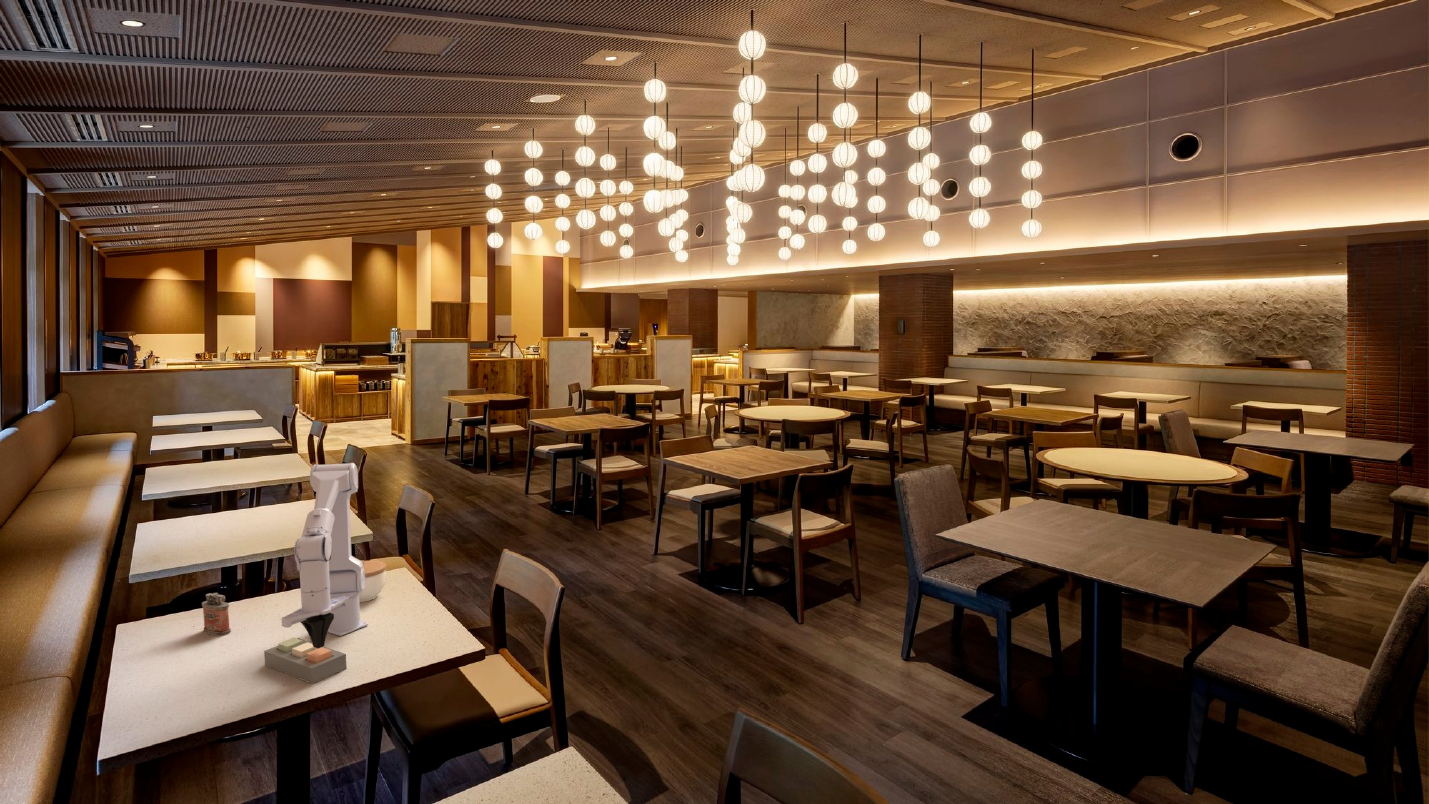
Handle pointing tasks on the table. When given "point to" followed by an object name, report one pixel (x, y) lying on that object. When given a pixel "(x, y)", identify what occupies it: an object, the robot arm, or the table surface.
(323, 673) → the keypad
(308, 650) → the cream key
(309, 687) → the table surface
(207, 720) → the table surface
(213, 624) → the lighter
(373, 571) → the lidded bowl
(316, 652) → the terracotta key
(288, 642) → the sage key
